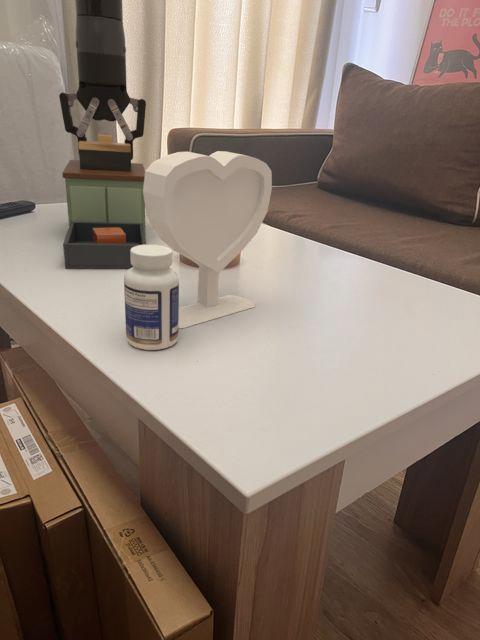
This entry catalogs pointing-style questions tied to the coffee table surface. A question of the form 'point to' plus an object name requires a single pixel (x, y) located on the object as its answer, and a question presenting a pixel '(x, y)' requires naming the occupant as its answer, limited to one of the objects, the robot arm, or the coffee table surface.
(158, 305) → the pill bottle
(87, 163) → the brush
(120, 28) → the robot arm
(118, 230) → the block
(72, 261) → the tray
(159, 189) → the heart sculpture
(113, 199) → the cabinet
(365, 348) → the coffee table surface
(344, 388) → the coffee table surface
